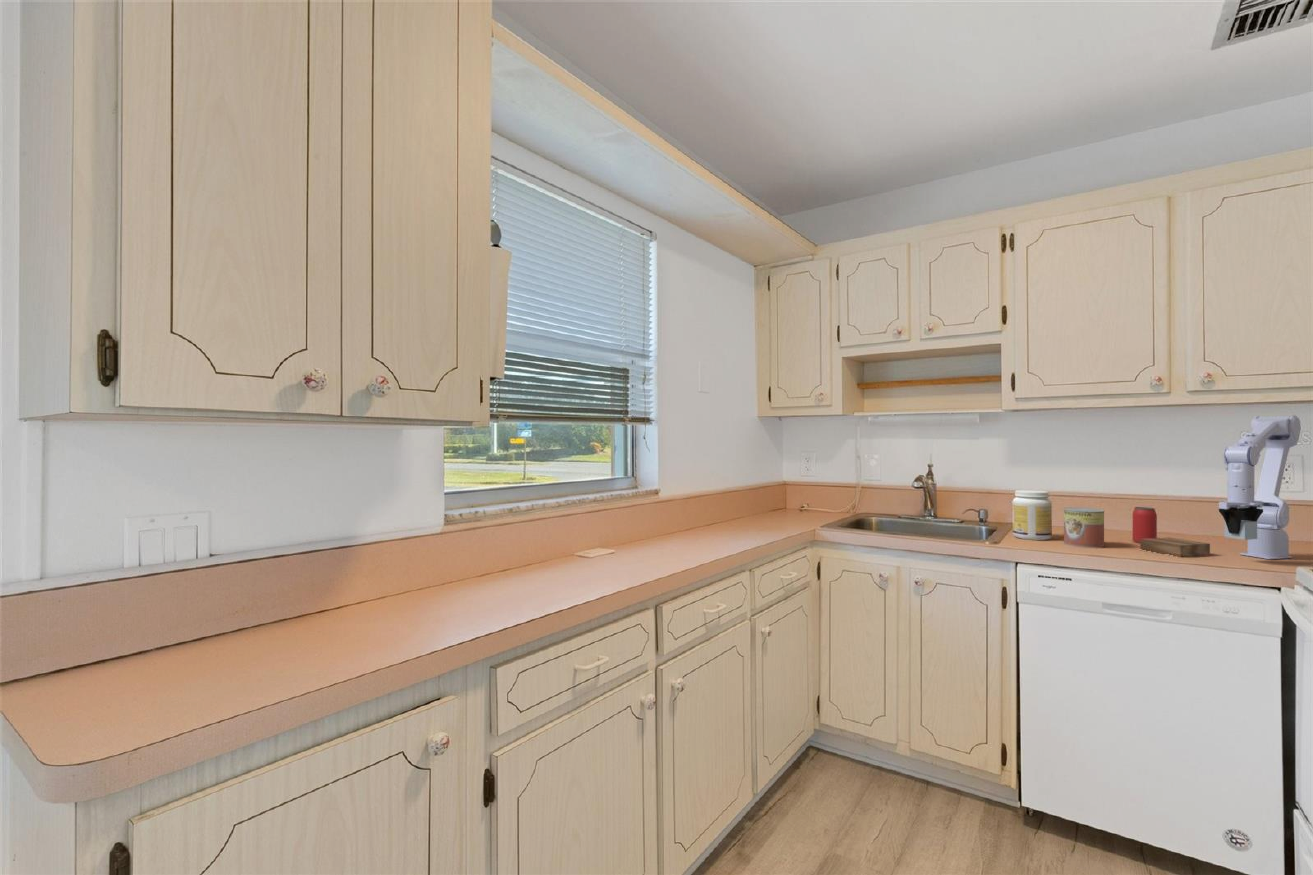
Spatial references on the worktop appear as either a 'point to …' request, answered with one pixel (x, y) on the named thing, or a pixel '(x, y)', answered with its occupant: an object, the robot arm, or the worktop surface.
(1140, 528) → the beer can
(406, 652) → the worktop surface
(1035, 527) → the supplement tub
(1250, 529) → the slate cube
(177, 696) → the worktop surface
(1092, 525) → the canned food
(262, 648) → the worktop surface
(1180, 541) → the walnut block
